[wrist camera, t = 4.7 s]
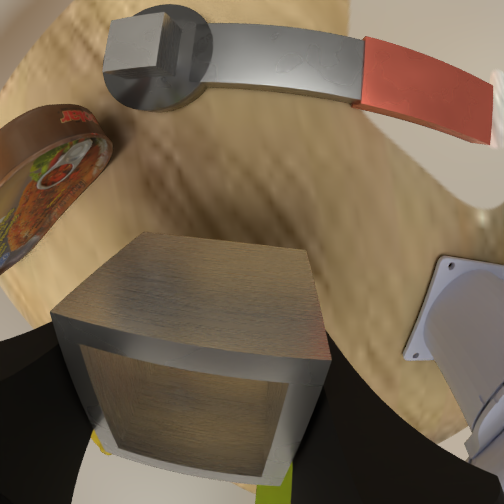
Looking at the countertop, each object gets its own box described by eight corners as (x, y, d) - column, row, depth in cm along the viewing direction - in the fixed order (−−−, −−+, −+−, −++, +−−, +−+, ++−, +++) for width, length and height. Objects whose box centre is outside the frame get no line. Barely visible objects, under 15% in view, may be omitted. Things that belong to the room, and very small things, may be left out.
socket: (306, 250, 9) (331, 360, 5) (281, 373, 11) (280, 486, 6) (143, 231, 9) (50, 312, 5) (153, 354, 11) (105, 451, 7)
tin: (21, 265, 19) (-49, 315, 11) (3, 234, 18) (-70, 276, 10) (140, 139, 15) (35, 150, 7) (114, 99, 14) (6, 87, 6)
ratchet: (474, 71, 12) (516, 62, 8) (468, 161, 14) (512, 172, 10) (126, 22, 12) (88, -1, 8) (113, 114, 15) (69, 112, 11)
